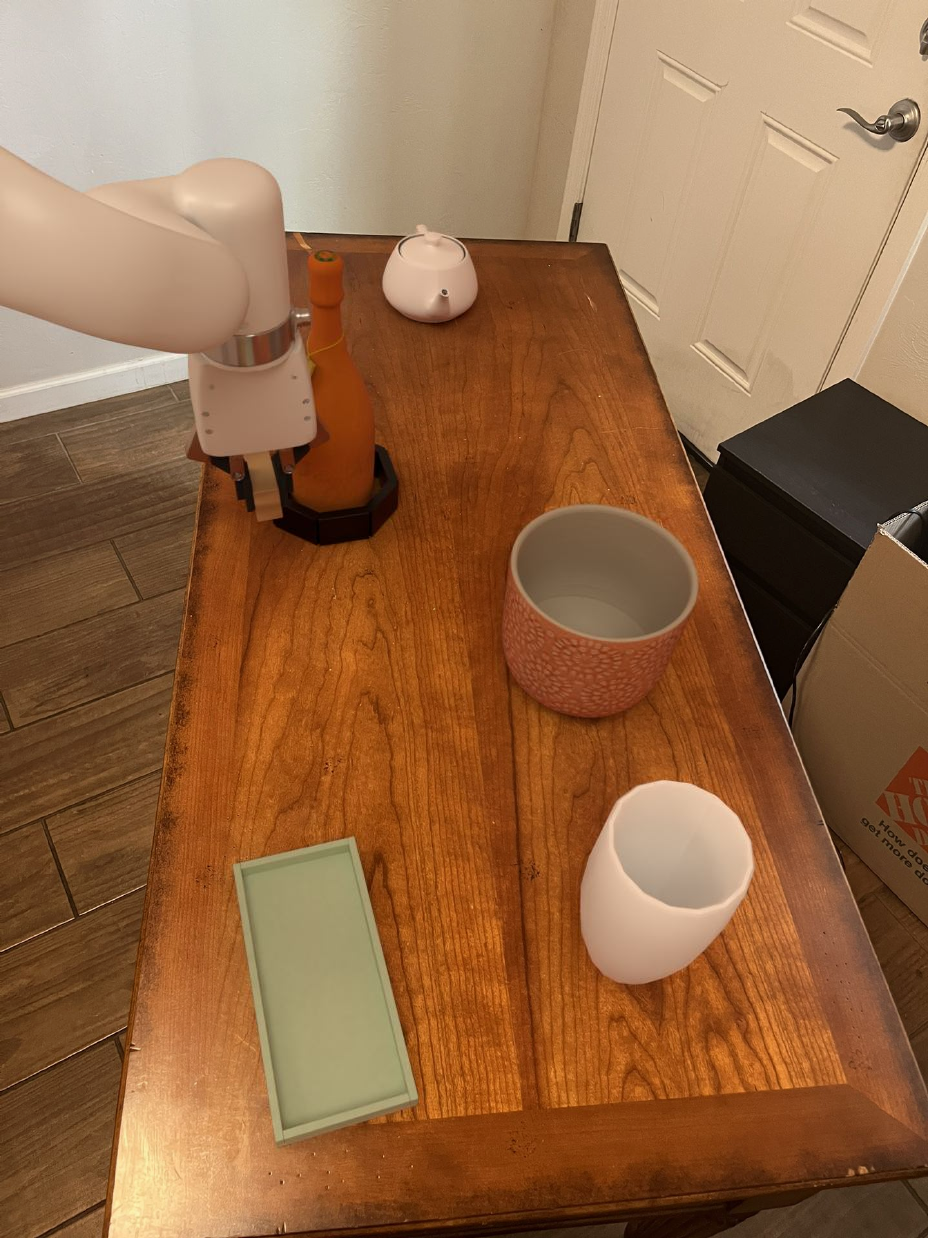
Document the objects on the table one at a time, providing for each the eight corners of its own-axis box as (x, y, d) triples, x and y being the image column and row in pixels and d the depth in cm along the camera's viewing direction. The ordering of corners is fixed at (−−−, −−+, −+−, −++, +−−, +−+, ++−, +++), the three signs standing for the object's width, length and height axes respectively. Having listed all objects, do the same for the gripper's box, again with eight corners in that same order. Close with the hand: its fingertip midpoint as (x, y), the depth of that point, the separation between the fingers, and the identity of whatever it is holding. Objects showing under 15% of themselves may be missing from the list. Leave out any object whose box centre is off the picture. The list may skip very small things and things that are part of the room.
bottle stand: (280, 552, 103) (277, 526, 100) (259, 467, 112) (256, 440, 109) (407, 533, 107) (408, 507, 103) (377, 451, 115) (378, 425, 112)
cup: (523, 973, 75) (567, 849, 59) (596, 881, 81) (654, 745, 65) (632, 1063, 72) (710, 958, 55) (700, 960, 77) (790, 838, 61)
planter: (477, 615, 99) (492, 509, 88) (629, 600, 103) (663, 496, 91) (513, 751, 89) (535, 651, 77) (682, 730, 92) (727, 631, 80)
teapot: (373, 268, 142) (374, 198, 134) (462, 266, 145) (468, 198, 137) (393, 353, 129) (395, 281, 120) (490, 350, 131) (499, 278, 123)
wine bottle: (296, 466, 112) (281, 222, 90) (378, 475, 112) (384, 234, 90) (281, 523, 106) (261, 275, 83) (368, 532, 106) (372, 287, 83)
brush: (316, 511, 90) (313, 482, 87) (251, 523, 89) (245, 494, 85) (281, 386, 100) (277, 356, 96) (222, 396, 98) (216, 365, 95)
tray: (277, 1148, 66) (275, 1142, 65) (234, 874, 79) (232, 864, 77) (417, 1105, 69) (418, 1098, 67) (354, 846, 81) (354, 836, 80)
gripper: (335, 293, 79) (341, 461, 93) (135, 313, 75) (173, 485, 89) (355, 345, 74) (358, 513, 88) (143, 369, 70) (182, 541, 85)
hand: (265, 498), depth 89 cm, fingers closed on brush, 2 cm apart
